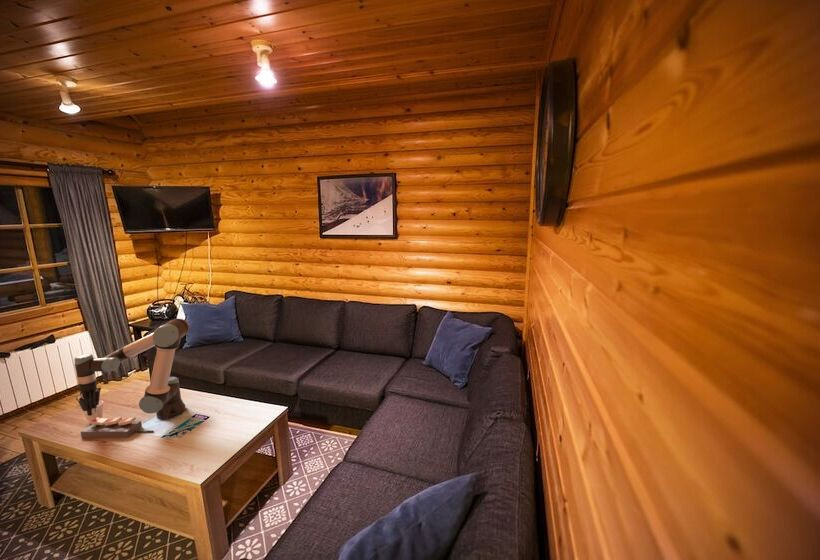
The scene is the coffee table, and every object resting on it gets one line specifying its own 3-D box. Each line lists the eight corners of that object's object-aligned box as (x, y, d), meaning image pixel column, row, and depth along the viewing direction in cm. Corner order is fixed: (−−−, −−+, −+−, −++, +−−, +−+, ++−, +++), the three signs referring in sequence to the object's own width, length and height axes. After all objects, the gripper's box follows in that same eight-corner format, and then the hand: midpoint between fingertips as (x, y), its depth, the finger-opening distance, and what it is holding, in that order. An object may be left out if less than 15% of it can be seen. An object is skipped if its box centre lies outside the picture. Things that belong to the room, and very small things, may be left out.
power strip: (159, 426, 197) (158, 419, 196) (146, 437, 187) (145, 429, 186) (98, 427, 197) (96, 419, 196) (81, 438, 187) (80, 429, 186)
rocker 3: (136, 419, 194) (135, 416, 194) (130, 423, 190) (129, 420, 190) (124, 421, 195) (123, 418, 194) (118, 425, 191) (117, 423, 190)
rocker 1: (108, 421, 194) (108, 418, 194) (102, 425, 190) (102, 422, 190) (96, 419, 194) (96, 417, 194) (90, 424, 190) (89, 421, 190)
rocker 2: (122, 419, 194) (121, 416, 194) (116, 423, 190) (115, 420, 190) (111, 421, 194) (110, 419, 194) (104, 425, 191) (103, 423, 190)
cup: (92, 427, 197) (89, 410, 195) (79, 425, 199) (76, 408, 197) (110, 417, 206) (107, 401, 204) (98, 415, 208) (95, 399, 206)
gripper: (91, 375, 194) (96, 412, 198) (68, 386, 181) (75, 425, 186) (104, 376, 194) (109, 413, 198) (82, 387, 181) (88, 426, 186)
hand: (92, 419), depth 192 cm, fingers closed
